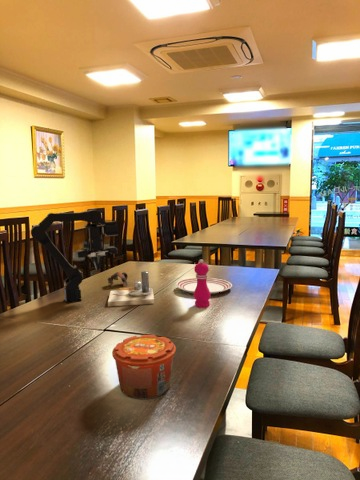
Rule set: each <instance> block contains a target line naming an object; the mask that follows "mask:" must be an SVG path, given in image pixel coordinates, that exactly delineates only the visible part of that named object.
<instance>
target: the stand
mask: <svg viewBox="0 0 360 480" xmlns="http://www.w3.org/2000/svg"><path fill="white" fill-rule="evenodd" d="M149 288H150V287H149ZM153 290H154V289H153V288H150V294H149V295H146V296H139V297H136V296H130V295H129V289H124V290H119V289H118V290H116V289H115V290H110V292H109V297H108V300H107V307H119V306H135V305H136V306H137V305H151V304H153V305H154V304H155V298H154V297H155V296H154V291H153Z"/></svg>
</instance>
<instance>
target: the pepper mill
mask: <svg viewBox="0 0 360 480" xmlns="http://www.w3.org/2000/svg"><path fill="white" fill-rule="evenodd" d="M198 261H199V263H196V265H194V272H195V278H197V286H196V289H195V291H194V294H193V299H194V300H195V301H194V306H195V307H197V308H200V309H202V308H203V309H204V308H207V307H210V305H211V304H210V299H211V297H212V296H211V295H212V294H210V291H209V289H208V286H207V281H206V280H207V278H209V276H208V272H209V270H210V268H209V265H208V264H207V263H205V262H204V259H199V260H198Z"/></svg>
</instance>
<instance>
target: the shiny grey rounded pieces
mask: <svg viewBox="0 0 360 480" xmlns="http://www.w3.org/2000/svg"><path fill="white" fill-rule="evenodd" d="M140 277H141V280H140V281H139V280H136V281H133V287H119V289H118V290H129V295H130V296H136V297H139V296H146V295H149V294H150V284H149V283H150V280H149V277H150V276H149V271H146V270H144V271H141V272H140Z"/></svg>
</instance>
